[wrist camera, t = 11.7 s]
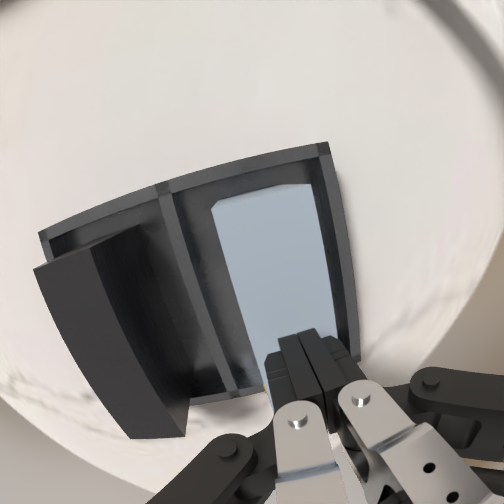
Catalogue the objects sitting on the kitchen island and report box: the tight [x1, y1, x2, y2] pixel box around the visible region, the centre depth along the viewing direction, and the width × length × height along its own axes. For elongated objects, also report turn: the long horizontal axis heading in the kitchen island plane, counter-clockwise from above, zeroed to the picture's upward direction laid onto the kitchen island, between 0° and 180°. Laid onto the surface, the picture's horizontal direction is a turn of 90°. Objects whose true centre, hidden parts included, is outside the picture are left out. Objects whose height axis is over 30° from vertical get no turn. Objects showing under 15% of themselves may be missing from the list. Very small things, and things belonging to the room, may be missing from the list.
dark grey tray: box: [33, 142, 361, 439], centre depth 15 cm, size 20×16×8 cm
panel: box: [211, 184, 338, 412], centre depth 15 cm, size 4×12×7 cm, turn 14°
